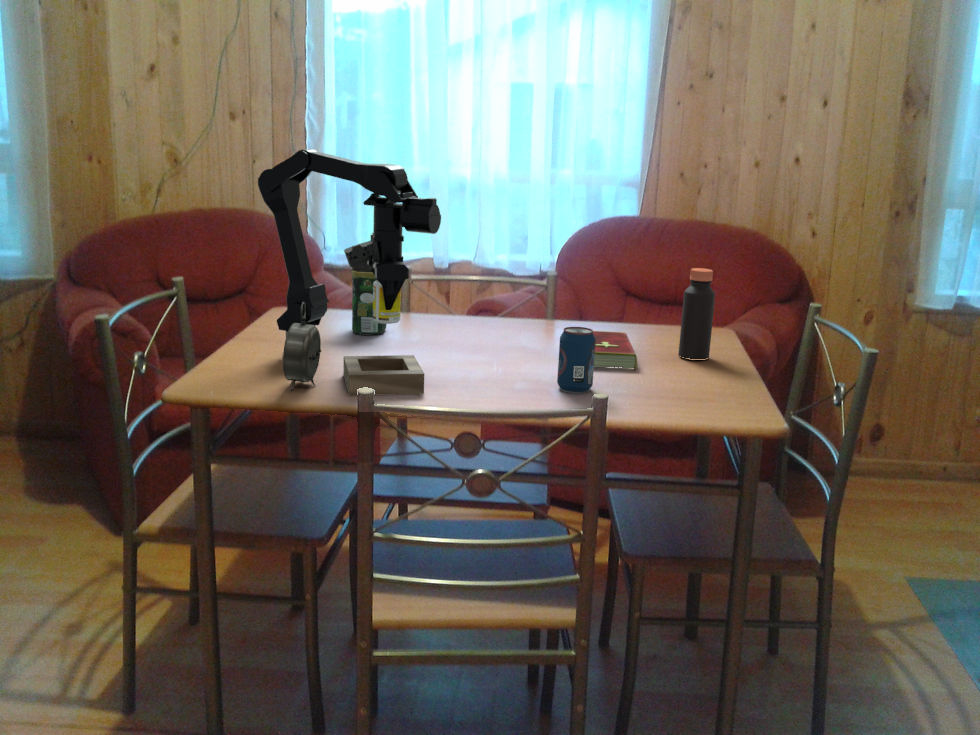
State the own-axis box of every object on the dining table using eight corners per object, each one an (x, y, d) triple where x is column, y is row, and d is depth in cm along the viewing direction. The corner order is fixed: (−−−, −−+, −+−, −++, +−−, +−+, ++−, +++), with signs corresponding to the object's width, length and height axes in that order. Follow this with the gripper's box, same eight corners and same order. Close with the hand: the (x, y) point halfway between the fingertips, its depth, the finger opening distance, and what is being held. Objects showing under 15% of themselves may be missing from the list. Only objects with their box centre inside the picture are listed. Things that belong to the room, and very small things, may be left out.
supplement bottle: (405, 322, 205) (407, 272, 203) (385, 325, 201) (386, 274, 199) (387, 317, 209) (388, 268, 206) (366, 320, 205) (367, 270, 202)
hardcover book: (625, 348, 236) (627, 331, 235) (636, 372, 215) (637, 353, 214) (574, 346, 236) (575, 328, 235) (579, 369, 215) (581, 350, 214)
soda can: (554, 384, 202) (558, 325, 199) (589, 385, 202) (593, 326, 199) (559, 394, 195) (563, 333, 192) (594, 394, 195) (599, 334, 192)
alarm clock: (298, 377, 199) (297, 296, 194) (325, 379, 198) (325, 297, 194) (281, 392, 188) (280, 307, 184) (309, 394, 188) (309, 308, 183)
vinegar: (672, 355, 229) (679, 267, 224) (695, 353, 232) (704, 266, 227) (690, 362, 223) (699, 272, 218) (715, 360, 226) (724, 271, 221)
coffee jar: (356, 326, 245) (356, 249, 240) (388, 327, 244) (389, 251, 240) (348, 335, 235) (348, 255, 231) (382, 336, 235) (383, 257, 230)
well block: (343, 375, 201) (343, 356, 200) (413, 374, 204) (413, 355, 203) (349, 395, 188) (349, 374, 187) (423, 393, 191) (424, 373, 190)
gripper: (343, 222, 207) (342, 297, 211) (351, 235, 190) (350, 316, 194) (397, 223, 210) (395, 297, 214) (410, 236, 192) (408, 316, 196)
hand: (386, 306), depth 204 cm, fingers closed on supplement bottle, 5 cm apart
